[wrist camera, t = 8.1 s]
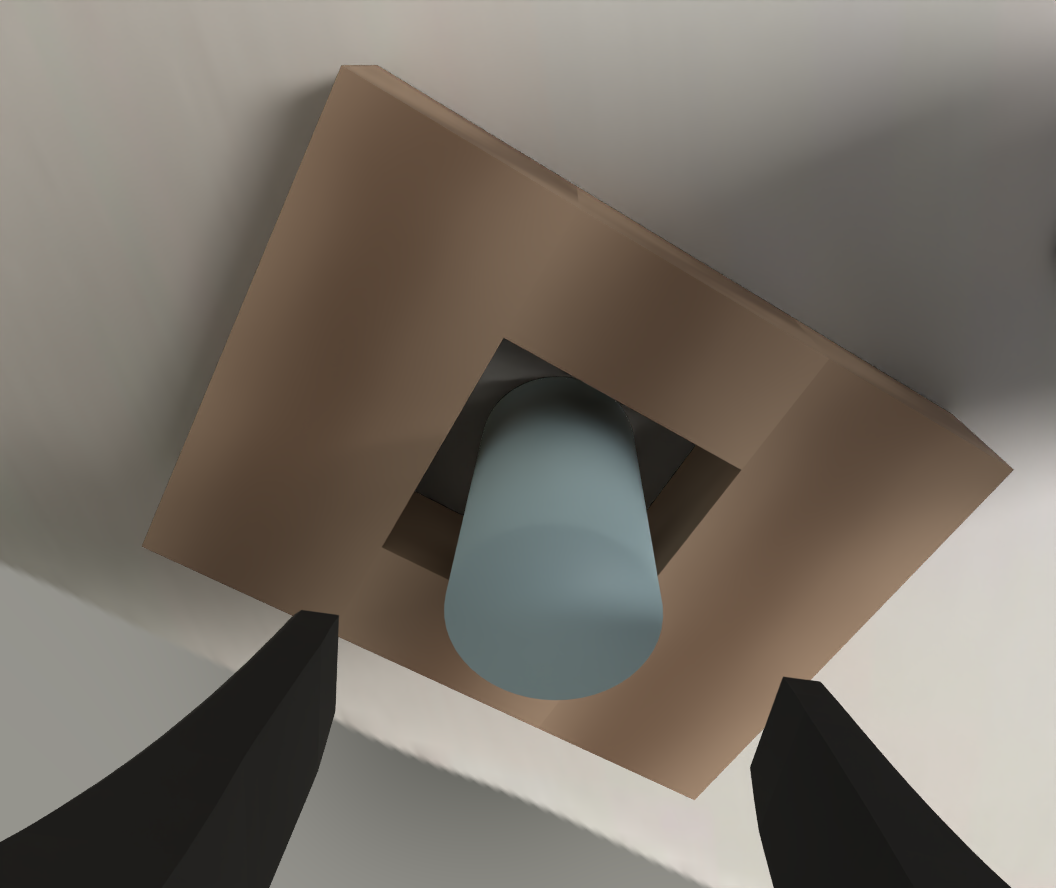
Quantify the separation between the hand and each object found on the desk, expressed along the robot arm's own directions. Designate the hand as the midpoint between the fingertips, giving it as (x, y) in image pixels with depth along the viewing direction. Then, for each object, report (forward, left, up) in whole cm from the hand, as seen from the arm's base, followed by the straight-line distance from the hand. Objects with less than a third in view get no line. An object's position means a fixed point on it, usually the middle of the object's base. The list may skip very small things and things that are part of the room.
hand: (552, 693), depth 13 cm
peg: (0, 0, -9) cm, 9 cm away
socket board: (0, 0, -9) cm, 9 cm away
